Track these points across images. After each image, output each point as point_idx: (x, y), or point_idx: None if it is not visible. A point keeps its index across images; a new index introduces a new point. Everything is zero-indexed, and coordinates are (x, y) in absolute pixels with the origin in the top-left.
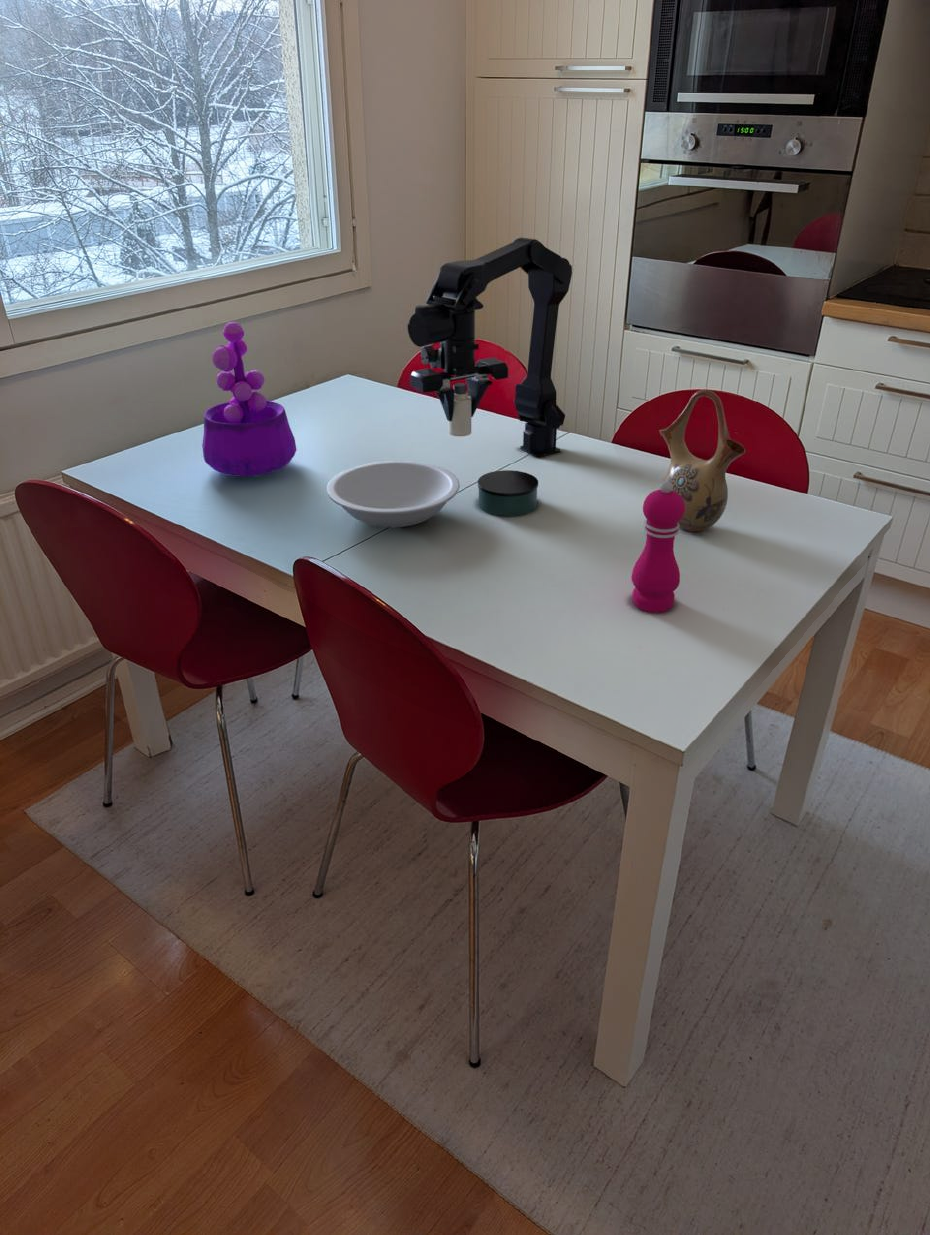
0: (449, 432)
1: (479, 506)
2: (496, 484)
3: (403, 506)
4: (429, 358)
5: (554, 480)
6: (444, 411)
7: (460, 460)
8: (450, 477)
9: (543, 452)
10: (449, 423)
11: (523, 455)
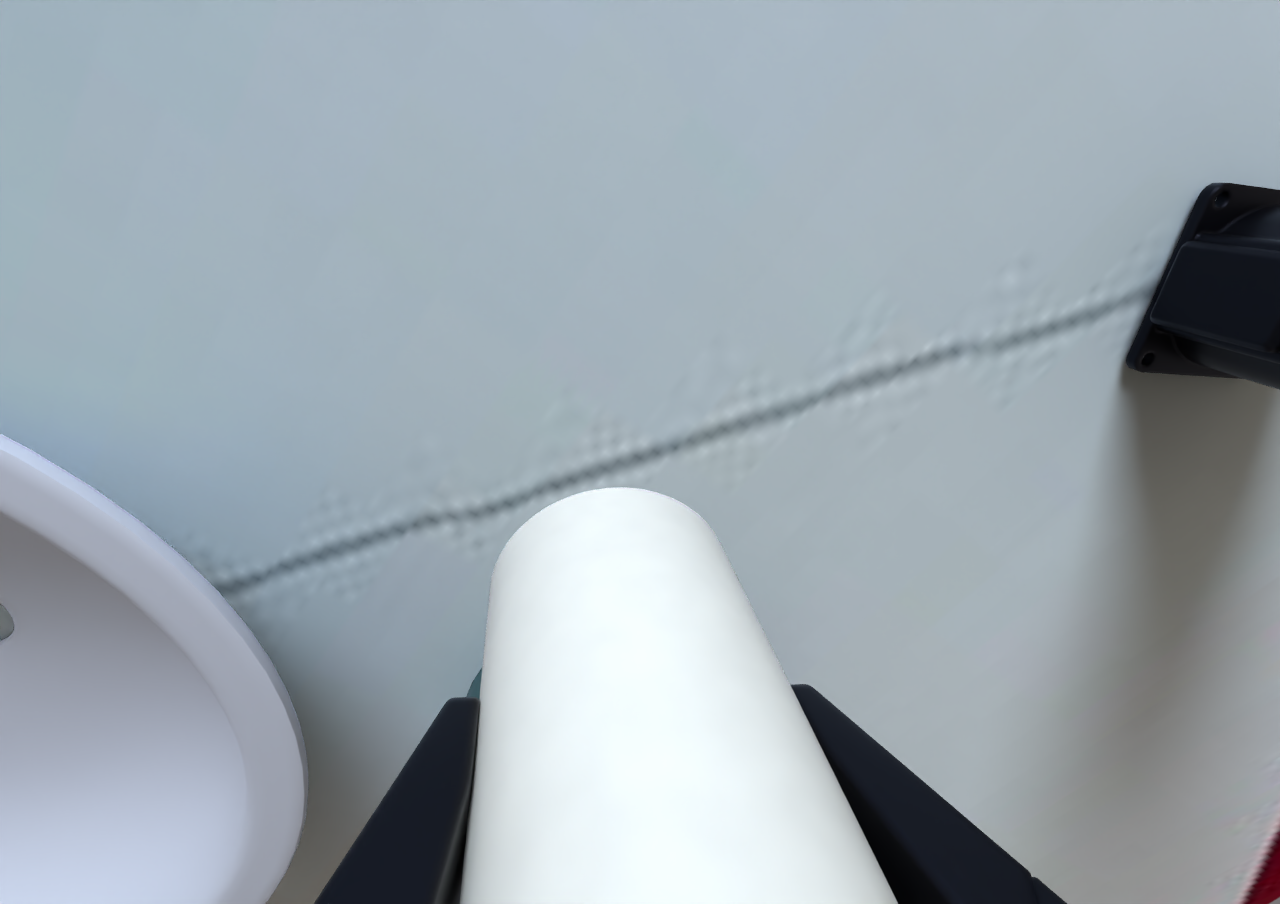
0: (491, 581)
1: (470, 687)
2: None
3: (38, 581)
4: None
5: (925, 617)
6: (376, 819)
7: (809, 79)
8: (254, 832)
9: (1187, 359)
10: (483, 662)
11: (1117, 285)
